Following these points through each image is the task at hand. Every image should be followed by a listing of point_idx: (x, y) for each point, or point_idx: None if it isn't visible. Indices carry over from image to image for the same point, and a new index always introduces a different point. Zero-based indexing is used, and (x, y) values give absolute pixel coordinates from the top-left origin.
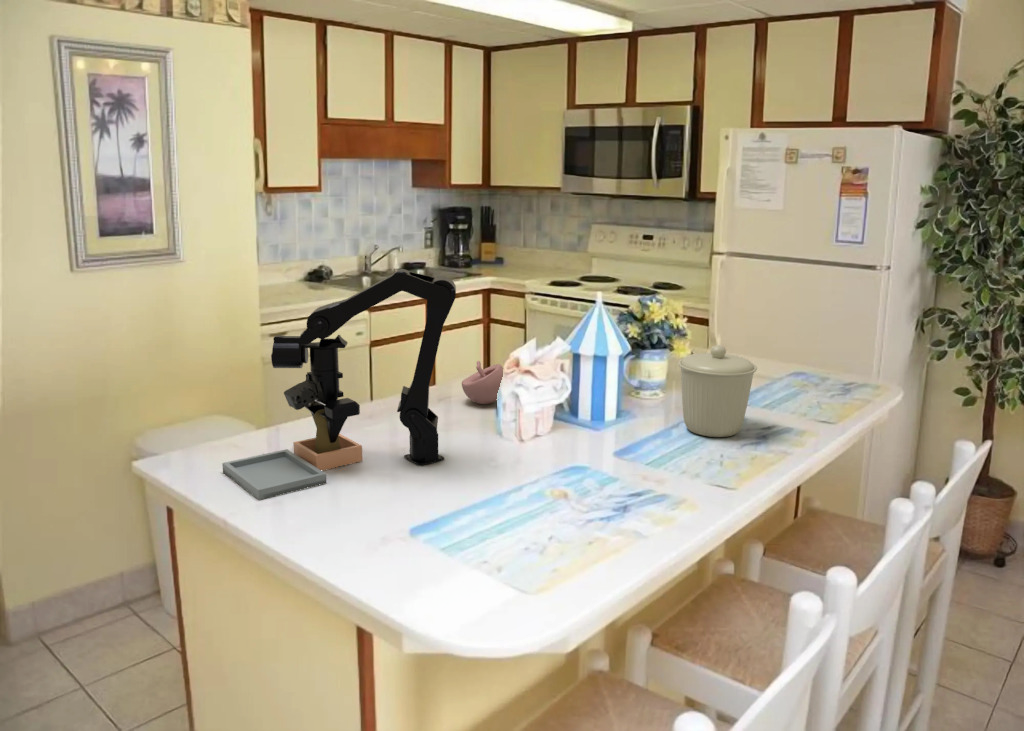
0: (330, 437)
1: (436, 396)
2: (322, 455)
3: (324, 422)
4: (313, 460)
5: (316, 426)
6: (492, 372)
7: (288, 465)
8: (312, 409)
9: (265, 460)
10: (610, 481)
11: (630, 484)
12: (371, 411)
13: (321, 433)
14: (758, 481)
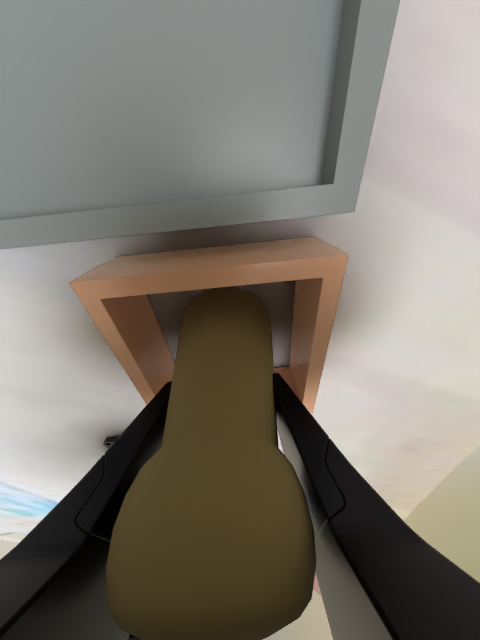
0: (148, 404)
1: (389, 499)
2: (90, 311)
3: (123, 504)
4: (119, 267)
5: (300, 411)
6: (314, 587)
7: (188, 148)
8: (372, 622)
9: (345, 3)
10: (19, 513)
11: (10, 516)
12: (429, 455)
13: (183, 397)
14: (21, 540)
